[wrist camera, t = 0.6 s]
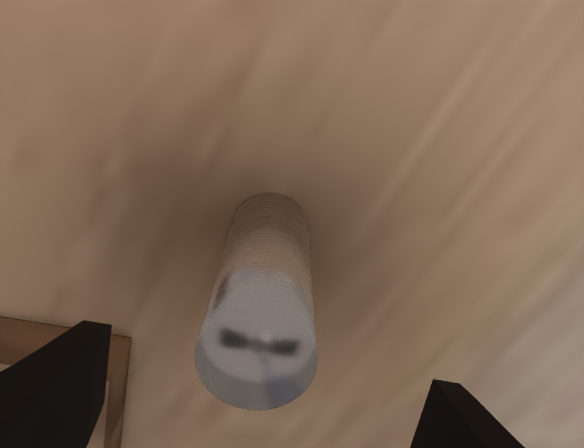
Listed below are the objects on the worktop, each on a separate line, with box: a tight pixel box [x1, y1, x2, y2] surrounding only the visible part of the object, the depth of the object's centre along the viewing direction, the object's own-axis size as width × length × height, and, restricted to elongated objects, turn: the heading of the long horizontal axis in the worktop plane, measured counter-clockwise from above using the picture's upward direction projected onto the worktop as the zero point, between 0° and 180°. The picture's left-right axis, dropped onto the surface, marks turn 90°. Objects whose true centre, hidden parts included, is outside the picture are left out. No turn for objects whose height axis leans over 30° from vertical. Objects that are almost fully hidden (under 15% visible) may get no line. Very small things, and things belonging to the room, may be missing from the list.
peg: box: [195, 193, 317, 410], centre depth 18 cm, size 3×3×9 cm
